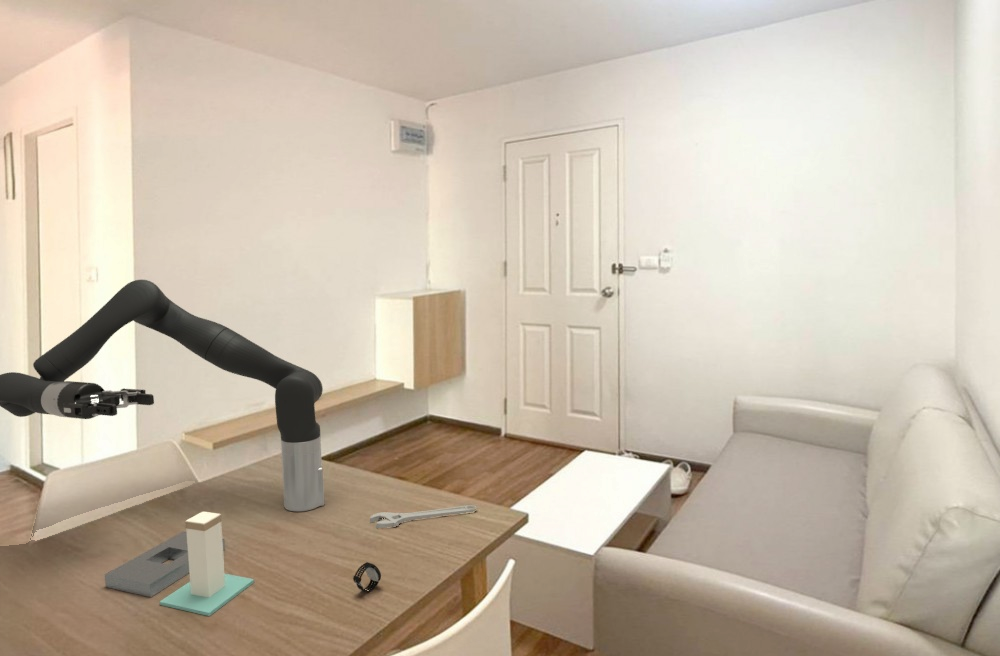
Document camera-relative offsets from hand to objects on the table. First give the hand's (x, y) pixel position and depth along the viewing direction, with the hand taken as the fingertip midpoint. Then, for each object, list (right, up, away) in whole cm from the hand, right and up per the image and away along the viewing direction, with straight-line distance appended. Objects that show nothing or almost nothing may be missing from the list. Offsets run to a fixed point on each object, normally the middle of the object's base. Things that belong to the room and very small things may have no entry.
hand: (134, 404), depth 118 cm
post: (+20, -33, -11) cm, 40 cm away
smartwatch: (+49, -33, -10) cm, 60 cm away
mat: (+20, -33, -11) cm, 40 cm away
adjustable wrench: (+56, -30, +19) cm, 67 cm away
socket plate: (+8, -32, -2) cm, 33 cm away
